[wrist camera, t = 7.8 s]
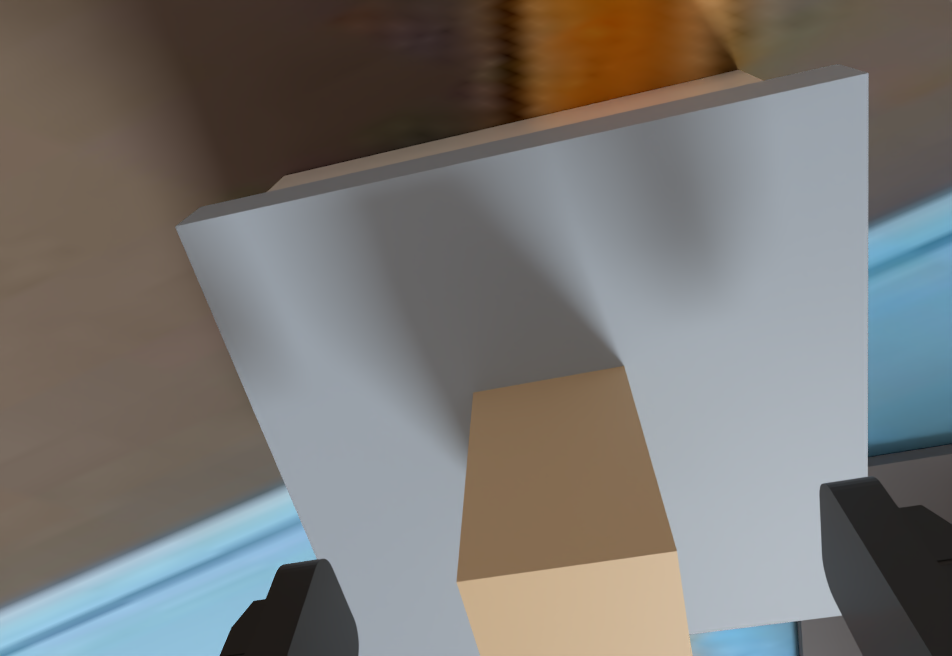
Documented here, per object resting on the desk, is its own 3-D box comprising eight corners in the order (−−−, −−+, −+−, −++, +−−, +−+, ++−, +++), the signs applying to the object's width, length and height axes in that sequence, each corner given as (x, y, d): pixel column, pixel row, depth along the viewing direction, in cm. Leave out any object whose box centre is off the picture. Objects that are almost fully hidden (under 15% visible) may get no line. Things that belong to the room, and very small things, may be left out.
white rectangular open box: (738, 69, 17) (802, 98, 13) (768, 459, 21) (821, 559, 18) (284, 175, 18) (227, 227, 14) (405, 517, 23) (385, 620, 19)
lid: (838, 63, 13) (1094, 138, 7) (845, 573, 18) (998, 849, 12) (200, 207, 14) (2, 358, 9) (374, 635, 19) (319, 903, 14)
